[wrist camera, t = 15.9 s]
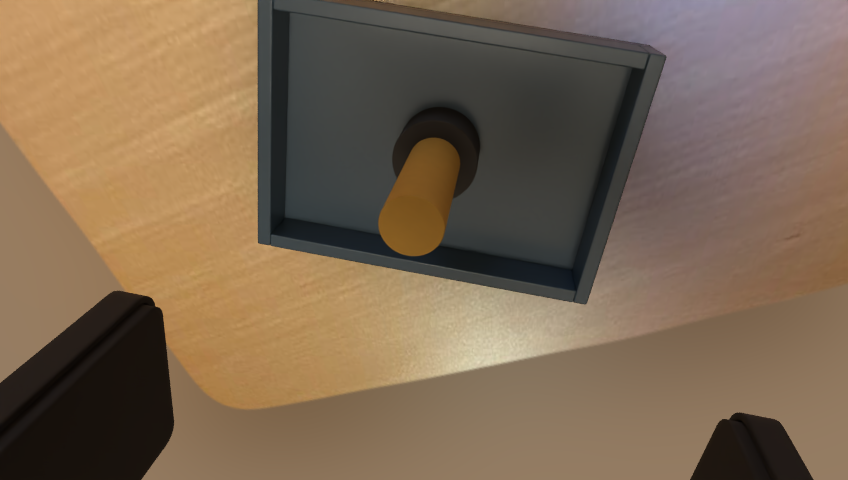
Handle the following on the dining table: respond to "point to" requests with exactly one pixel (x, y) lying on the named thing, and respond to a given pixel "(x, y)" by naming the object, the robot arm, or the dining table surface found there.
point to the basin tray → (477, 100)
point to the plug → (428, 179)
